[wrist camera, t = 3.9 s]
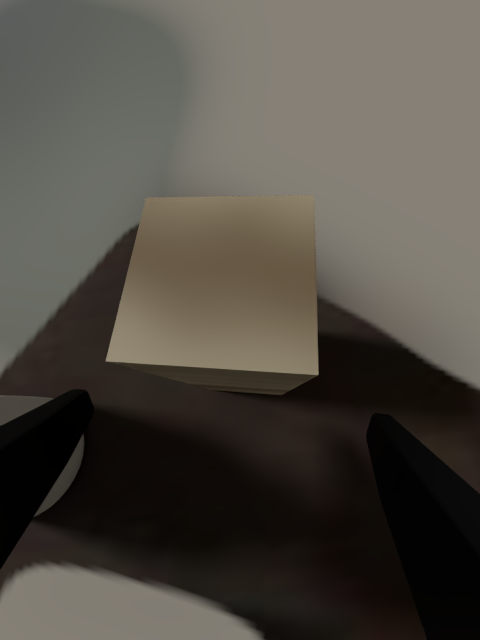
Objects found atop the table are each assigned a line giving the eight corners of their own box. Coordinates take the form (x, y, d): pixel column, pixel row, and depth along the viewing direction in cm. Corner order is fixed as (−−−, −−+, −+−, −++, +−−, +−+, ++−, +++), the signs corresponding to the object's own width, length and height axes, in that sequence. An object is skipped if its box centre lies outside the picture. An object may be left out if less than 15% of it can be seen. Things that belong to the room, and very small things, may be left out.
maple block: (281, 395, 18) (318, 374, 5) (212, 390, 18) (105, 361, 6) (282, 328, 19) (314, 195, 7) (219, 325, 20) (145, 197, 8)
